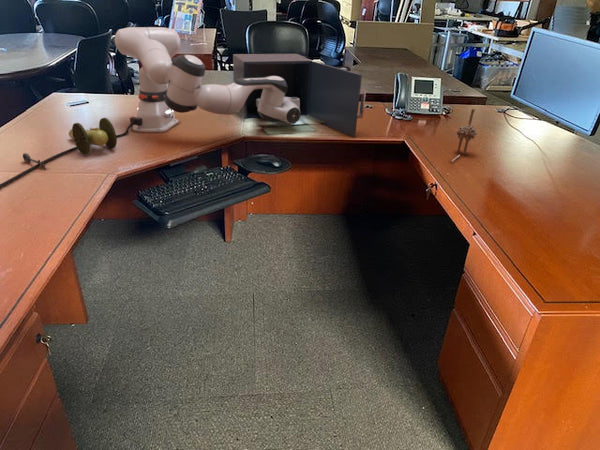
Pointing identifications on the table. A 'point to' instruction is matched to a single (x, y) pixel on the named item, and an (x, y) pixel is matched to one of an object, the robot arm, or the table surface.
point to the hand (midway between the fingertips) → (272, 98)
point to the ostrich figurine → (466, 134)
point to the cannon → (93, 136)
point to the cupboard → (282, 65)
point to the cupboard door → (336, 97)
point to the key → (28, 159)
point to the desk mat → (287, 129)
